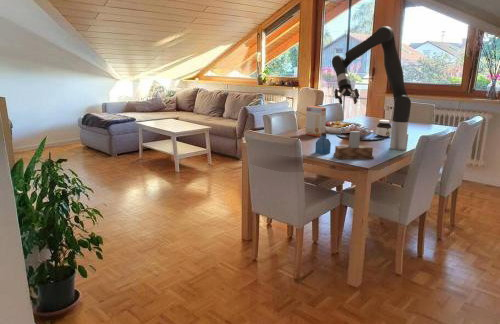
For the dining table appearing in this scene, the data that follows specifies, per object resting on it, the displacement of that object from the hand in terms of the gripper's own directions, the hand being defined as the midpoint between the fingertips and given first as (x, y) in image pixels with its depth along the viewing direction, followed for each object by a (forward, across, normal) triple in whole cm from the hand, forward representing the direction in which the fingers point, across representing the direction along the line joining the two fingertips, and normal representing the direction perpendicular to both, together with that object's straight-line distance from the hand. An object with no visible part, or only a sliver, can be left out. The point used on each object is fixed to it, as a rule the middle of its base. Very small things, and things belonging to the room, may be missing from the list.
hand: (348, 103), depth 233 cm
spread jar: (-8, +41, +49) cm, 64 cm away
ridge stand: (+33, -1, +8) cm, 34 cm away
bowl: (-23, +16, +64) cm, 70 cm away
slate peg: (+28, -1, +4) cm, 29 cm away
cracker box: (-12, -8, +52) cm, 54 cm away
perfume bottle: (+25, -16, +16) cm, 34 cm away
